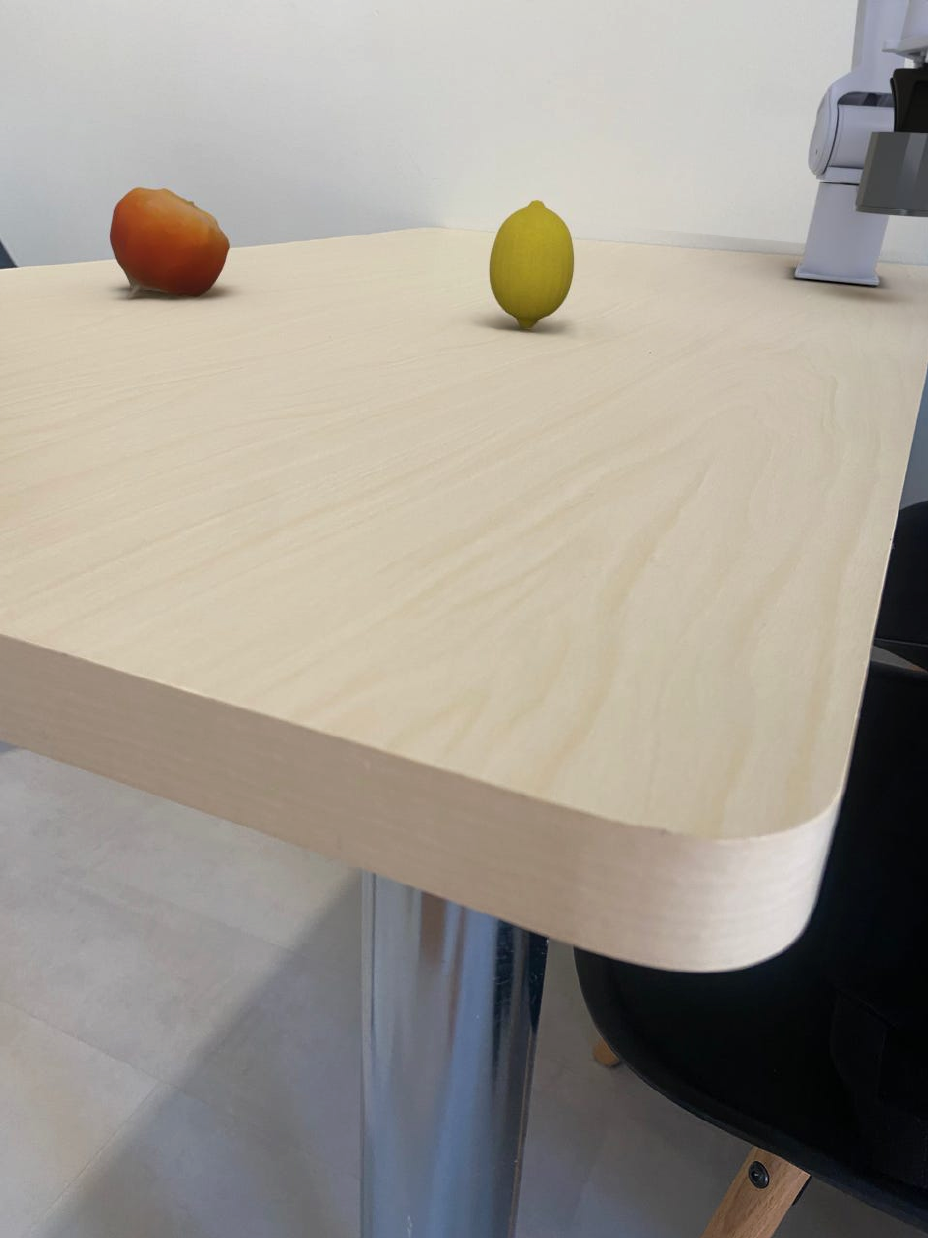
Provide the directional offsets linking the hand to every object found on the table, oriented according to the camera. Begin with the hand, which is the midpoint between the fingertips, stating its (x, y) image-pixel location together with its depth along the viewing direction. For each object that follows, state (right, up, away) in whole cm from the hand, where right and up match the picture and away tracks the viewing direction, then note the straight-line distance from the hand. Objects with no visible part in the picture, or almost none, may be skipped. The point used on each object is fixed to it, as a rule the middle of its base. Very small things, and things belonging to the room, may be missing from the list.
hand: (905, 172), depth 76 cm
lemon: (-33, -18, -14) cm, 40 cm away
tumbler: (0, -3, +1) cm, 3 cm away
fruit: (-58, -14, -9) cm, 60 cm away
